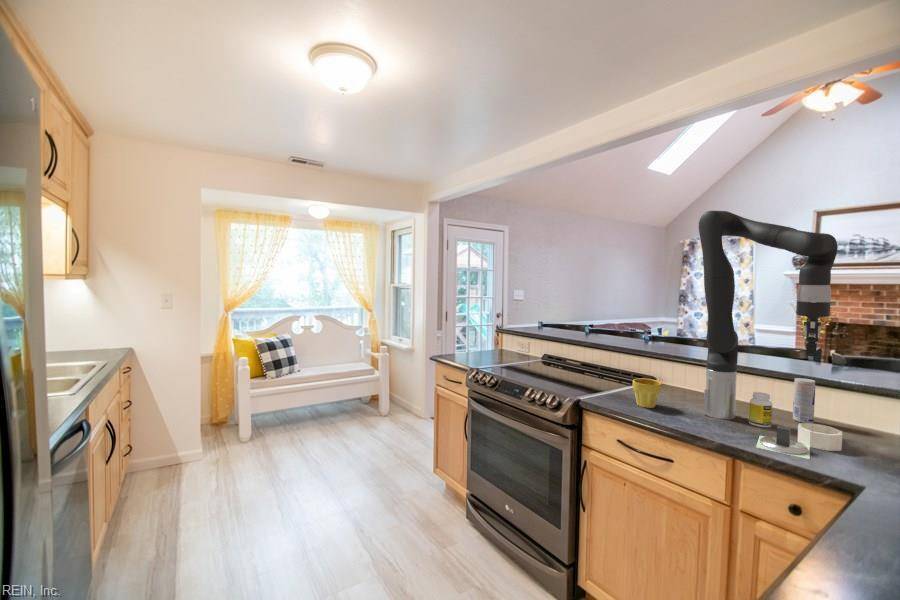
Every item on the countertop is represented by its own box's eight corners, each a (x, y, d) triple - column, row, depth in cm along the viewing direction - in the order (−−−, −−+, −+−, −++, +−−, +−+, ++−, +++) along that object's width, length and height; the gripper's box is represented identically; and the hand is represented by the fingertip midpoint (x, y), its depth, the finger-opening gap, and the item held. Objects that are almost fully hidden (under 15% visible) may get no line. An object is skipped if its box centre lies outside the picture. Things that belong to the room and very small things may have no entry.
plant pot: (664, 410, 155) (665, 385, 155) (636, 408, 157) (636, 384, 156) (655, 402, 165) (656, 378, 165) (629, 401, 167) (629, 377, 167)
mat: (755, 448, 120) (755, 447, 120) (759, 436, 129) (759, 435, 129) (809, 460, 112) (809, 459, 112) (809, 447, 121) (810, 445, 121)
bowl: (797, 445, 122) (797, 429, 122) (798, 436, 129) (798, 420, 129) (842, 454, 116) (842, 437, 115) (840, 444, 123) (841, 428, 123)
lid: (758, 447, 120) (758, 428, 120) (761, 436, 128) (762, 418, 128) (807, 458, 113) (808, 437, 112) (807, 446, 121) (808, 427, 121)
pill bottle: (765, 429, 135) (766, 397, 135) (745, 423, 141) (746, 392, 140) (775, 426, 138) (776, 394, 137) (754, 420, 143) (755, 390, 143)
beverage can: (817, 424, 140) (819, 381, 139) (799, 423, 141) (800, 381, 140) (806, 419, 145) (808, 378, 144) (789, 418, 146) (790, 377, 146)
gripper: (797, 299, 128) (794, 349, 129) (796, 300, 117) (794, 355, 118) (829, 299, 123) (827, 352, 124) (831, 301, 112) (829, 359, 113)
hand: (810, 354), depth 121 cm, fingers open, 8 cm apart
